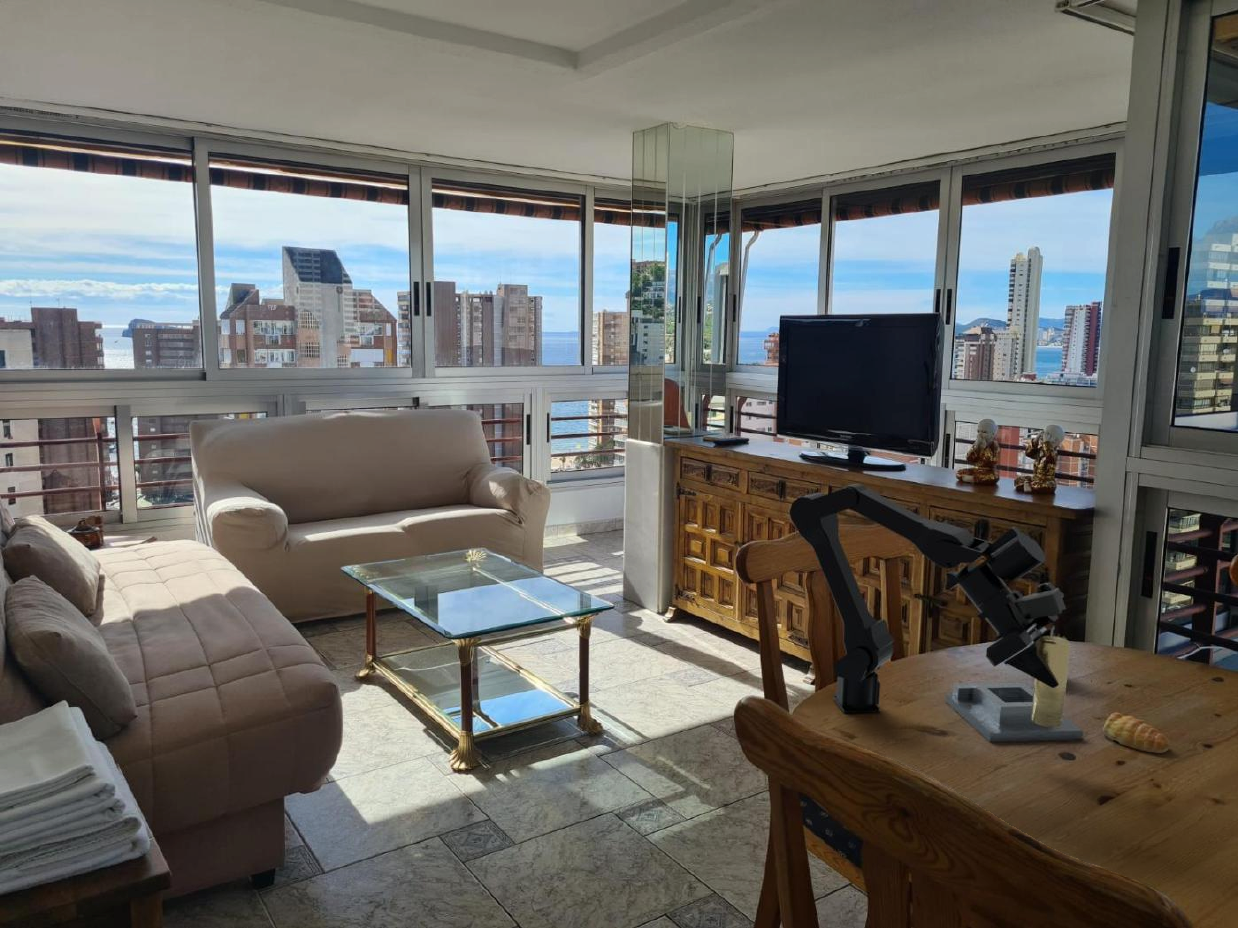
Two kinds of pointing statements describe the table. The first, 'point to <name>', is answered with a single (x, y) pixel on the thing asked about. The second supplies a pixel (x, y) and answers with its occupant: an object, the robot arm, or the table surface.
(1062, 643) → the sleeve
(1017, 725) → the jig
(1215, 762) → the table surface
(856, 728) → the table surface
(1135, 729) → the pastry
